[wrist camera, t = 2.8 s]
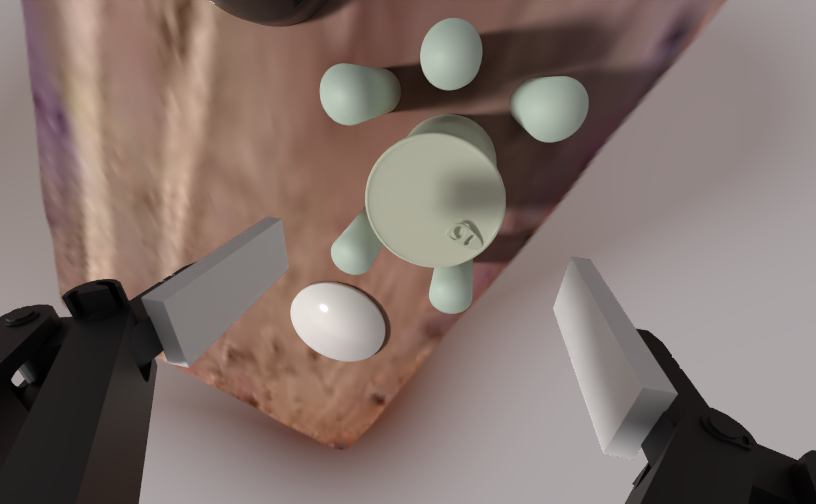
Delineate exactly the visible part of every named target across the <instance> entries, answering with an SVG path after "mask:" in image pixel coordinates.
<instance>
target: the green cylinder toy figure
mask: <svg viewBox="0 0 816 504" xmlns="http://www.w3.org/2000/svg"><path fill="white" fill-rule="evenodd" d="M496 164H497V161H496V152H495V149H494V145H493V143H492V141H491V139H490V137H489V136H488V134H487V133H486V132H485V130H484V129H483V128H482V127H481V126H480V125H478V124H477V123H476V122H474V121H473V120H471V119H469V118H466V117H464V116H460V115H455V114H442V115H437V116H434V117H431V118H428V119H426V120H424V121H423V122H421V123H420V124H418V125H417V126H416V127H415V128H414V129H413V130H412V131H411V132H410V133H409V135H408V136H407V137H406V138H404V139H403V140H401V141H399V142H397V143H395V144H394V145H393V146H391V147H390V148H389V149H388V150H386V151H385V152H384V153H383V154H382V155H381V157H380V158H379V159H378V161H377V162H376V163H375V165H374V167H373V169H372V171H371V173H370V175H369V178H368V181H367V186H366V192H365V205H366V211H367V216H368V219H369V222H370V224H371V227H372V229H373V230H374V232H375V234H376V235H377V237H378V238H379V240H380V241H381V242H382V243H383V244H384V245H385V246H386V247H387V248H388V249H389V250H390V251H391V252H393V253H394V254H395V255H397V256H398V257H400V258H402V259H404V260H406V261H408V262H410V263H413V264H416V265H420V266H424V267H433V268H442V267H450V266H455V265H458V264H461V263H464V262H466V261H469V260H471V259H472V258H474V257H476V256H477V255H479V254H480V253H481V252H482V251H484V250H485V249H486V248H487V247H488V246H489V245H490V244H491V242H492V241H493V240H494V238H495V237H496V235H497V233H498V232H499V230H500V228H501V225H502V223H503V219H504V215H505V209H506V194H505V188H504V184H503V181H502V178H501V175H500V173H499V171H498V169H497V165H496Z"/></svg>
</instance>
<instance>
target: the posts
mask: <svg viewBox="0 0 816 504" xmlns="http://www.w3.org/2000/svg"><path fill="white" fill-rule="evenodd" d="M420 60H421V66H422V70H423V72H424V74H425V76H426V78H427V79H428V80H429V82H430V83H432V84H433V85H434V86H436V87H437V88H440V89H443V90H456V89H459V88H461V87H463V86H465V85H467V84H469V83H470V82H471V81H472V80H473V79H474V78H475V77H476V75H477V73H478V71H479V67H480V64H481V60H482V43H481V39H480V36H479V34H478V32H477V31H476V29H475V28H474V27H473V26H472V25H471V24H470V23H468V22H467V21H465V20H463V19H459V18H448V19H445V20H442V21H440V22H438V23H437V24H435V25H434V26H433V27H432V28H431V29H430V30H429V32H428V33H427V35H426V36H425V38H424V41H423V43H422V47H421V53H420ZM320 98H321V102H322V105H323V107H324V109H325V111H326V112H327V114H328V115H329V116H330V117H331V118H332V119H333V120H335V121H336V122H338V123H340V124H343V125H355V124H358V123H361V122H363V121H366V120H369V119H372V118H374V117H377V116H380V115H383V114H385V113H388V112H390V111H392V110H393V109H395V107H396V106H397V105H398V103H399V101H400V98H401V86H400V83H399V80H398V79H397V77H396V76H395V75H394V74H393V73H392V72H391V71H389V70H387V69H383V68H375V67H368V66H360V65H353V64H345V63H342V64H337V65H334V66H332V67H331V68H330V69H328V70H327V72H326V73H325V74H324V76H323V78H322V81H321V84H320ZM588 107H589V99H588V94H587V92H586V90H585V88H584V86H583V85H582V84H581V83H580V82H579V81H577V80H576V79H573V78H571V77H566V76H555V77H537V78H530V79H527V80H525V81H523V82H522V83H520V84H519V85H518V86H517V87H516V88H515V90H514V91H513V93H512V95H511V98H510V112H511V114H512V116H513V118H514V119H515V120H516V121H517V122H518V123H519V124H520V125H521V126H522V127H523V128H524V129H525V130H526V131H527V132H528V133H529V134H530V135H531V136H533V137H534V138H535V139H537V140H539V141H543V142H557V141H561V140H564V139H566V138H568V137H569V136H571V135H572V134H573V133H575V132H576V131H577V130H578V129H579V127H580V126H581V125H582V123H583V122H584V120H585V118H586V115H587V112H588ZM382 246H383V243H382V242H381V241H380V240H379V238H378V237H377V235H376V234H375V232H374V230H373V229H372V227H371V224H370V222H369V219H368V216H367V211H366V207H365V208H364V209H363V210H362V211H361V213H360V214H359V215H358V216H357V217H356V218H355V219H354V221H353V222H352V223H351V224H350V225H349V226H348V227H347V229H346V230H345V231H344V232H343V233H342V234H341V235H340V237H339V238H338V239H337V240H336V241H335V242H334V244H333V246H332V248H331V256H332V259H333V261H334V263H335V264H336V266H337V267H338V268H339V269H341V270H342V271H344V272H346V273H348V274H352V275H359V274H363V273H365V272H366V271H368V270H369V269H370V267H371V265H372V264H373V262H374V260H375V258H376V256H377V255H378V253H379V251H380V249H381V248H382ZM429 298H430V301H431V303H432V304H433V306H434V307H435V308H437V309H438V310H440V311H442V312H445V313H450V314H455V313H460V312H462V311H464V310H466V309H467V308H468V307H469V306H470V304H471V302H472V298H473V258H472V259H471V260H469V261H466V262H464V263H461V264H458V265H455V266H450V267H442V268H434V272H433V277H432V282H431V286H430V291H429Z"/></svg>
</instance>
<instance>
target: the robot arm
mask: <svg viewBox="0 0 816 504" xmlns="http://www.w3.org/2000/svg"><path fill="white" fill-rule="evenodd" d="M210 1H211V2H212V3H213V4H215V5H216V6H218V7H219V8H221V9H222V10H224V11H226V12H228V13H229V14H231V15H234V16H236V17H238V18H241V19H243V20H247V21H250V22H254V23H258V24H261V25H266V26H288V25H293V24H296V23H299V22H301V21H303V20H305V19H307V18H309V17H310V16H312V15H313V14H315V13H316V12H317V11H318V10H320V9H321V8H322V7H323V6H324V5H325V4H326V2H327V1H328V0H210ZM288 268H289V266H288V259H287V252H286V245H285V238H284V232H283V225H282V219H279V218H271V217H266V218H264V219H263V220H261V221H260V222H258V223H257V224H255V225H254V226H252V227H250V228H249V229H247V230H246V231H244V232H243V233H241V234H239V235H238V236H236V237H235V238H233V239H232V240H230V241H229V242H227V243H225V244H224V245H222V246H221V247H219V248H218V249H216V250H215V251H213V252H211V253H210V254H208V255H207V256H205V257H204V258H202V259H201V260H199V261H197V262H195V263H192V264H190V265H187V266H185V267H183V268H181V269H179V270H178V271H176V272H175V273H173V274H172V276H168V277H167V278H165V279H163V280H162V282H159V283H157V284H156V285H154V286H152V287H151V288H149V289H148V290H146V291H144V292H143V293H141V294H140V295H138V296H136V297H135V298H133V299H132V300H130V301H129V300H128V298H127V296H126V294H125V292H124V289H123V287H122V285H121V283H120V282H119V281H117V280H114V279H103V280H96V281H92V282H88V283H84V284H82V285H79V286H77V287H75V288H73V289H71V290H69V291H68V292H66V293H65V294H64V295H63V296H62V299H63V300H64V302H65V304H66V306H67V307H68V309H69V311H70V313H71V314H72V316H73V317H61V318H60V317H59V316H58V315H57V313H56V311H55V310H54V308H53V306H49V305H33V306H26V307H22V308H21V309H20V308H18V309H15V310H13V311H11V312H10V313H7V314H5V315H3V316H1V317H0V504H139V497H140V489H141V481H142V475H143V467H144V460H145V452H146V445H147V438H148V430H149V423H150V416H151V409H152V401H153V394H154V386H155V379H156V371H157V363H156V361H155V357H156V356H157V355H158V354H160V353H161V352H162V351H164V354H165V356H166V358H167V361H168V363H169V364H174V365H179V366H184V367H190V366H191V365H192V364H193V363H194V362H195V361H196V360H197V359H198V358H199V357H200V356H201V355H202V354H203V353H204V352H205V351H206V350H207V349H208V348H209V347H210V346H211V345H212V344H213V343H214V342H215V341H216V340H217V339H218V338H219V337H220V336H221V335H222V334H223V333H224V332H225V331H226V330H227V329H228V328H229V327H230V326H231V325H232V324H233V323H234V322H235V321H236V320H237V319H238V318H239V317H240V316H241V315H242V314H243V313H244V312H245V311H246V310H247V309H248V308H249V307H250V306H251V305H252V304H253V303H254V302H255V301H256V300H257V299H258V298H259V297H260V296H261V295H262V294H263V293H264V292H265V291H266V290H267V289H268V288H269V287H270V286H271V285H272V284H273V283H274V282H275V281H276V280H277V279H278V278H279V277H280V276H281V275H282V274H283V273H284V272H285V271H286V270H287V269H288ZM553 309H554V312H555V315H556V318H557V321H558V324H559V327H560V330H561V333H562V336H563V338H564V341H565V344H566V347H567V350H568V353H569V356H570V359H571V362H572V365H573V368H574V371H575V374H576V376H577V379H578V382H579V385H580V388H581V391H582V394H583V397H584V399H585V402H586V405H587V408H588V411H589V414H590V417H591V420H592V423H593V426H594V429H595V432H596V434H597V437H598V440H599V443H600V446H601V449H602V452H603V454H607V455H612V456H616V457H621V458H626V459H631V460H633V458H634V457H635V455H636V454H637V453H638V451H639V450H640V448H641V447H642V449H643V451H644V453H645V456H646V458H647V460H648V463H647V465H646V466H645V467H644V469H643V470H642V471H641V473H640V474H639V475H638V477H637V478H636V480H635V481H634V482H633V485H634V487H633V489H632V491H631V493H630V495H629V497H628V499H627V501H626V502H625V504H816V451H814V450H811V451H809V452H807V453H806V454H804V455H803V456H802V457H801V458H800V459H799V460H796V459H793V458H791V457H788V456H786V455H783V454H781V453H779V452H776V451H774V450H771V449H769V448H766V447H764V446H761V445H759V444H757V443H756V441H755V439H754V438H753V436H752V435H751V434H750V433H749V432H748V431H747V430H746V429H745V428H744V427H743V426H742V425H741V424H740V423H738V422H737V421H735V420H734V419H732V418H731V417H729V416H728V415H726V414H724V413H722V412H720V411H718V410H716V409H714V408H710V407H709V406H708V405H707V403H706V402H705V401H704V399H703V398H702V397H701V395H700V394H699V392H698V391H697V389H696V388H695V387H694V385H693V384H692V382H691V381H690V380H689V378H688V377H687V376H686V374H685V373H684V371H683V370H682V369H680V368H679V365H678V363H677V362H676V361H675V359H674V358H672V355H671V354H670V352H669V351H668V349H667V348H666V346H665V345H664V344H663V342H661V341H660V340H659V339H658V338H656V337H655V336H654V335H653V334H652V333H650V332H649V331H647V330H641V329H635V327H634V326H633V324H632V323H631V321H630V319H629V318H628V316H627V315H626V313H625V312H624V310H623V309H622V307H621V306H620V304H619V303H618V301H617V300H616V298H615V296H614V295H613V293H612V292H611V290H610V289H609V287H608V286H607V284H606V283H605V281H604V280H603V278H602V277H601V275H600V273H599V272H598V271H597V269H596V267H595V266H594V264H593V263H592V261H591V260H590V259H584V258H576V257H571V258H570V261H569V264H568V267H567V270H566V273H565V276H564V279H563V281H562V284H561V287H560V290H559V293H558V296H557V299H556V302H555V305H554V308H553ZM17 370H19V371H20V373H21V374H22V376H23V377H24V378H25V380H24V381H23V382H22V383H21V384H20V385H19V386H18V387H17V386H15V385H14V384H13V383H12V381H11V378H12V377H13V375H14V374H15V372H16V371H17Z"/></svg>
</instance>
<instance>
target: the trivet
mask: <svg viewBox="0 0 816 504" xmlns="http://www.w3.org/2000/svg"><path fill="white" fill-rule="evenodd" d="M291 319H292V323H293V326H294V328H295V330H296V332H297V333H298V335H299V336H300V337H301V338H302V340H303V341H304V342H305V343H306V344H307V345H309V346H310V347H311V348H312V349H314V350H315V351H317V352H319V353H320V354H322V355H324V356H327V357H329V358H332V359H336V360H341V361H359V360H363V359H366V358H368V357H370V356H372V355H374V354H375V353H376V352H377V351H378V350H379V349H380V347H381V345H382V343H383V341H384V338H385V333H386V326H385V321H384V318H383V315H382V313H381V312H380V310H379V308H378V307H377V306H376V304H375V303H374V302H373V301H372V300H371V299H370V298H369V297H368V296H366V295H365V294H364V293H362V292H361V291H359V290H357V289H355V288H353V287H351V286H349V285H346V284H343V283H338V282H330V281H327V282H317V283H314V284H311V285H309V286H307V287H305V288H304V289H302V290H301V291H300V292H299V293H298V295H297V296H296V297H295V299H294V301H293V303H292V306H291Z"/></svg>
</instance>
